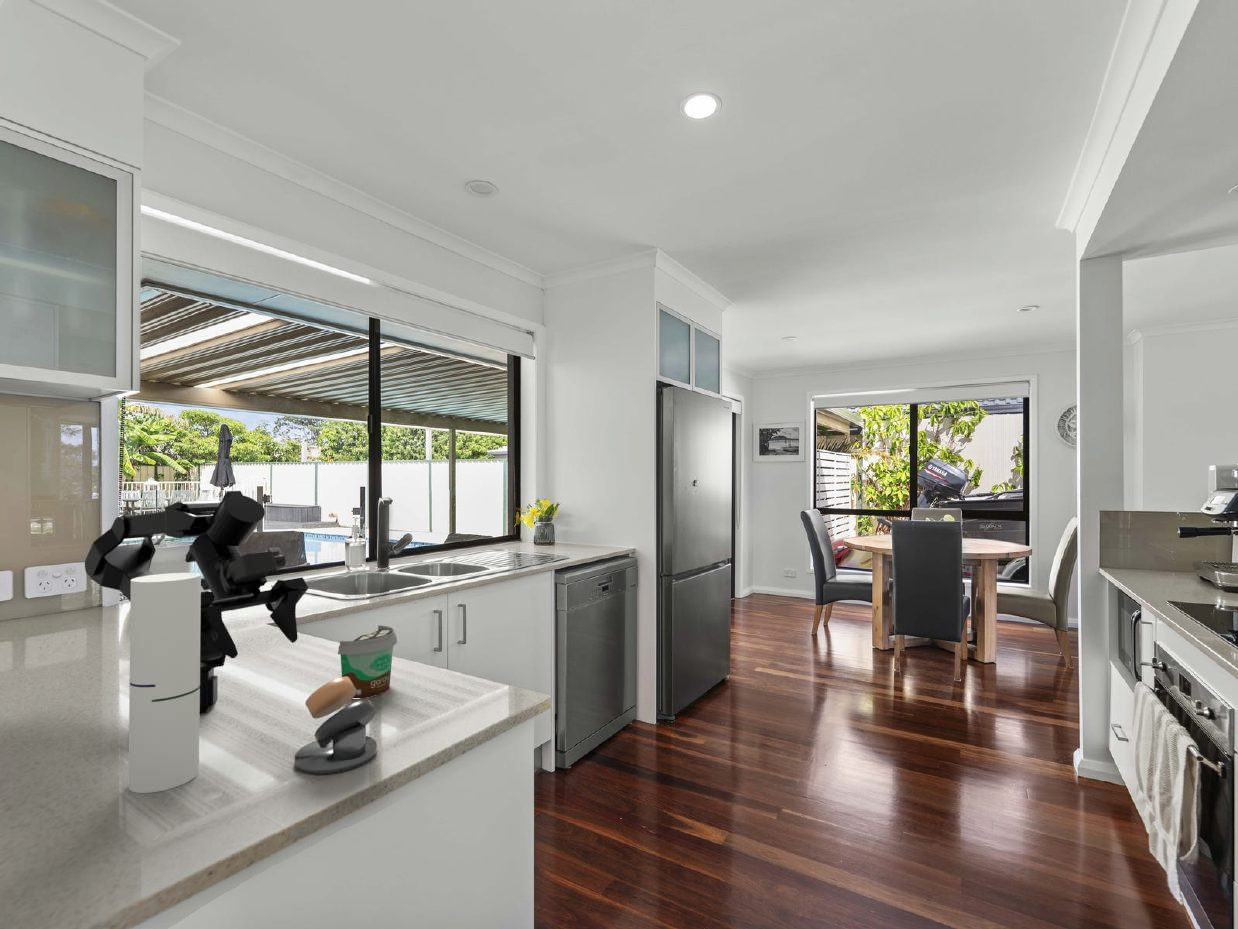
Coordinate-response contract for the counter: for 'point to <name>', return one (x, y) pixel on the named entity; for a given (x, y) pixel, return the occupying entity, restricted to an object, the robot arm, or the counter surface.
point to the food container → (369, 661)
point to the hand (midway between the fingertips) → (266, 648)
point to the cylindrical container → (164, 681)
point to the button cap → (330, 697)
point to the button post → (340, 742)
